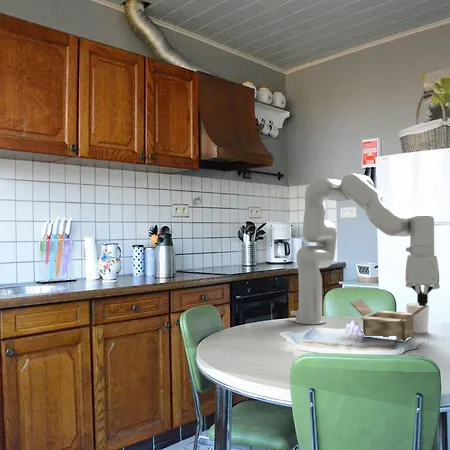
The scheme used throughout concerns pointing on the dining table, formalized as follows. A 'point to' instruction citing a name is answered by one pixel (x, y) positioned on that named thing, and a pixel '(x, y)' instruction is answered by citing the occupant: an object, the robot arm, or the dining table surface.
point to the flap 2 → (416, 312)
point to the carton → (388, 324)
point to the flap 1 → (361, 307)
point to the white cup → (419, 317)
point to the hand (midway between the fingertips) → (422, 305)
